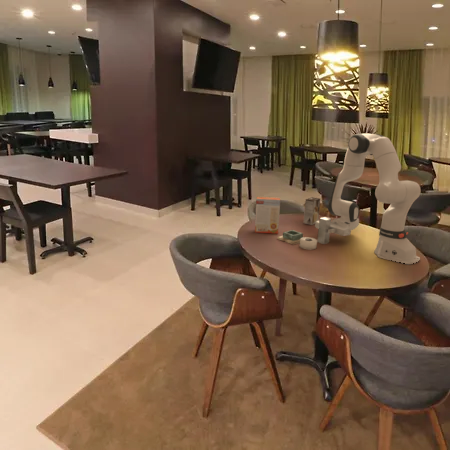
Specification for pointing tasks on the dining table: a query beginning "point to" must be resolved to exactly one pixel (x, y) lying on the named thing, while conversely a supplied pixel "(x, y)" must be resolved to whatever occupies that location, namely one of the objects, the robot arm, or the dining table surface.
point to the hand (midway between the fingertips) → (323, 230)
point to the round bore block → (308, 243)
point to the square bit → (324, 230)
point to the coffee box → (311, 210)
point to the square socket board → (291, 237)
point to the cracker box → (267, 215)
